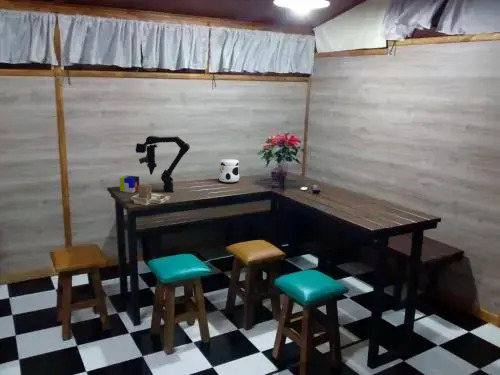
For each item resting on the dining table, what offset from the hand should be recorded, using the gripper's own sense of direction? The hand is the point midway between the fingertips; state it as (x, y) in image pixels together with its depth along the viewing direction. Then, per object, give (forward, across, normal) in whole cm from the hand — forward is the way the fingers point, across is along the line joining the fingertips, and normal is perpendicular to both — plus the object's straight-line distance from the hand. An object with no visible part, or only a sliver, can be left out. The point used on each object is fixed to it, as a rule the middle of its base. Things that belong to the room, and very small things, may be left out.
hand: (151, 174), depth 317 cm
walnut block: (+10, +31, -7) cm, 34 cm away
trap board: (+12, +27, -4) cm, 30 cm away
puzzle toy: (+12, -3, -15) cm, 20 cm away
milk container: (+12, -22, +65) cm, 70 cm away
